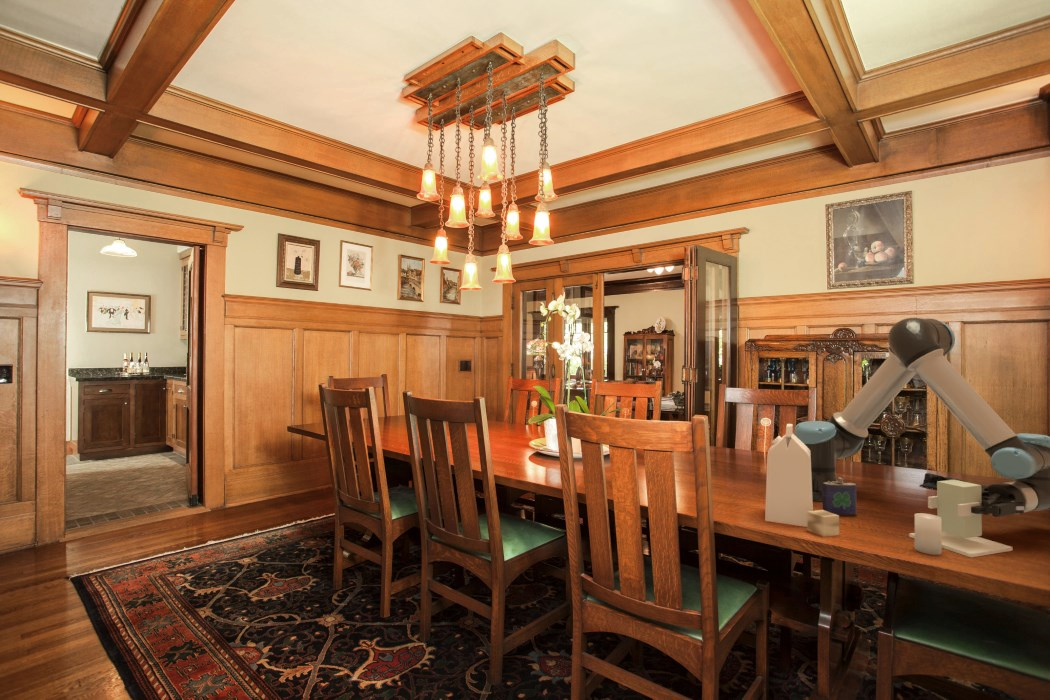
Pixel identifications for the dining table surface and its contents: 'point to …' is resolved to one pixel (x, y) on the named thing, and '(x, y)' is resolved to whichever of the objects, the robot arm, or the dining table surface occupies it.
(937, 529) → the white cylinder
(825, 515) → the maple cube
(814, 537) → the dining table surface
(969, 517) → the sage block
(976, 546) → the white tile
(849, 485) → the flask
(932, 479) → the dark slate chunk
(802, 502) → the milk
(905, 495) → the dining table surface
